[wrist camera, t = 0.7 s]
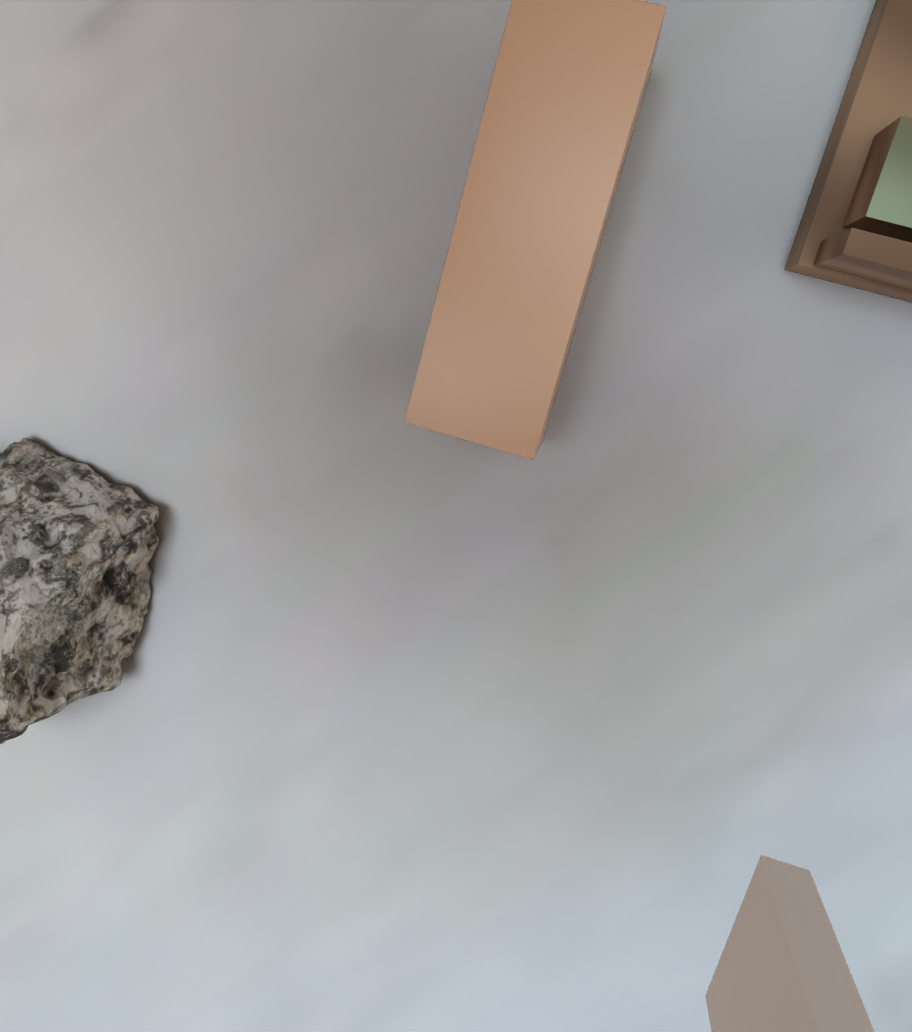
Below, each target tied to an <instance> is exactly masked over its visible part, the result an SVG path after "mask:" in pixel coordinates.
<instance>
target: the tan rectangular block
mask: <svg viewBox="0 0 912 1032" xmlns="http://www.w3.org/2000/svg"><path fill="white" fill-rule="evenodd" d="M665 9H666V7H665V6H661V5H657V4H653V3H649V2H644V1H640V0H512V3H511V7H510V11H509V15H508V19H507V23H506V27H505V31H504V35H503V38H502V42H501V46H500V50H499V54H498V58H497V62H496V66H495V70H494V74H493V77H492V81H491V85H490V89H489V93H488V97H487V101H486V105H485V109H484V113H483V117H482V120H481V124H480V128H479V132H478V136H477V140H476V144H475V148H474V152H473V156H472V159H471V163H470V167H469V171H468V175H467V179H466V183H465V187H464V191H463V195H462V199H461V202H460V206H459V210H458V214H457V218H456V222H455V226H454V230H453V234H452V238H451V242H450V245H449V249H448V253H447V257H446V261H445V265H444V269H443V273H442V277H441V281H440V284H439V288H438V292H437V296H436V300H435V304H434V308H433V312H432V316H431V320H430V324H429V327H428V331H427V335H426V339H425V343H424V347H423V351H422V355H421V359H420V363H419V366H418V370H417V374H416V378H415V382H414V386H413V390H412V394H411V398H410V402H409V406H408V409H407V413H406V417H405V421H404V422H405V423H409V424H412V425H416V426H419V427H423V428H426V429H430V430H433V431H436V432H440V433H443V434H447V435H450V436H454V437H457V438H461V439H464V440H467V441H471V442H474V443H478V444H481V445H485V446H488V447H492V448H495V449H498V450H502V451H505V452H509V453H512V454H516V455H519V456H523V457H526V458H529V459H534V457H535V455H536V453H537V451H538V449H539V447H540V445H541V443H542V440H543V437H544V433H545V430H546V427H547V423H548V420H549V416H550V413H551V410H552V406H553V403H554V399H555V396H556V393H557V389H558V386H559V382H560V379H561V376H562V372H563V369H564V365H565V362H566V359H567V355H568V352H569V348H570V345H571V342H572V338H573V335H574V331H575V328H576V325H577V321H578V318H579V314H580V311H581V308H582V304H583V301H584V298H585V294H586V291H587V287H588V284H589V281H590V277H591V274H592V270H593V267H594V264H595V260H596V257H597V253H598V250H599V247H600V243H601V240H602V236H603V233H604V230H605V226H606V223H607V219H608V216H609V213H610V209H611V206H612V202H613V199H614V196H615V192H616V189H617V185H618V182H619V179H620V175H621V172H622V168H623V165H624V162H625V158H626V155H627V151H628V148H629V145H630V141H631V138H632V134H633V131H634V128H635V124H636V121H637V117H638V114H639V111H640V107H641V104H642V101H643V97H644V94H645V90H646V87H647V84H648V80H649V77H650V73H651V70H652V66H653V62H654V57H655V53H656V49H657V44H658V40H659V35H660V31H661V27H662V22H663V18H664V14H665Z"/></svg>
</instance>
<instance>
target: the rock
mask: <svg viewBox="0 0 912 1032" xmlns="http://www.w3.org/2000/svg"><path fill="white" fill-rule="evenodd" d="M158 517H159V510H158V506H155V505H153V504H151V503H149V502H146V501H144V500H142V499H141V498H140V497H139V496H138V495H137V494H136V493H135V492H134V490H133V489H132V488H131V487H127V486H123V485H119V484H113V483H108V482H107V481H106V480H105V479H104V478H103V477H102V476H100V475H98V474H97V473H95V472H94V471H93V469H92V468H90V467H89V466H88V465H87V464H84V463H79V462H73V461H71V460H69V459H67V458H65V457H61V456H57V455H55V453H54V452H52V451H50V450H48V449H46V448H45V447H44V446H43V445H41V444H40V443H39V442H37V441H34V440H32V439H29V438H23V439H22V440H21V441H20V442H14V443H12V444H10V445H9V446H8V447H7V448H6V449H5V450H4V451H3V452H2V453H0V614H3V615H6V623H5V631H4V638H3V645H2V653H1V660H0V744H2V743H4V742H5V741H6V740H9V739H12V738H15V737H17V736H19V735H22V734H23V733H24V732H25V731H26V729H27V727H28V725H30V724H33V723H35V722H38V721H40V720H43V719H46V718H48V717H50V716H52V715H54V714H56V713H58V712H60V711H61V710H62V709H64V708H65V707H66V706H67V705H68V704H69V703H71V702H73V701H75V700H77V699H80V698H83V697H87V696H90V695H94V694H97V693H100V692H103V691H110V690H113V689H114V688H116V687H117V686H119V685H120V682H121V679H122V675H123V670H122V667H121V661H122V659H124V658H128V657H129V656H130V655H131V654H132V653H133V649H134V644H135V642H136V641H137V640H138V638H139V636H140V633H141V629H142V626H143V623H144V622H143V617H144V615H145V614H146V613H147V612H148V609H147V604H148V602H149V599H150V595H151V589H150V583H149V579H150V576H151V573H152V570H151V569H150V567H149V566H148V562H149V561H150V559H151V558H152V556H153V553H154V551H155V549H156V548H157V546H158V545H159V538H158V537H157V536H156V532H155V528H154V526H153V524H154V523H155V522H156V521H157V519H158Z"/></svg>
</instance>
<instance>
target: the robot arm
mask: <svg viewBox="0 0 912 1032" xmlns="http://www.w3.org/2000/svg"><path fill="white" fill-rule="evenodd" d="M5 623H6V615H3V614H0V660H1V653H2V645H3V638H4V631H5ZM705 996H706V1001H707V1007H708V1013H709V1019H710V1025H711V1031H712V1032H874V1030H873V1027H872V1025H871V1022H870V1020H869V1017H868V1015H867V1012H866V1010H865V1007H864V1005H863V1002H862V1000H861V998H860V995H859V993H858V990H857V988H856V985H855V983H854V980H853V978H852V975H851V973H850V970H849V968H848V965H847V963H846V960H845V958H844V955H843V953H842V950H841V948H840V945H839V943H838V940H837V938H836V935H835V933H834V930H833V928H832V926H831V923H830V921H829V918H828V916H827V913H826V911H825V908H824V906H823V903H822V901H821V898H820V896H819V893H818V891H817V888H816V886H815V883H814V881H813V878H812V876H811V873H810V871H809V870H807V869H803V868H800V867H797V866H794V865H791V864H788V863H785V862H781V861H778V860H775V859H772V858H769V857H766V856H763V855H761V857H760V859H759V862H758V864H757V867H756V869H755V872H754V874H753V877H752V879H751V882H750V884H749V887H748V889H747V892H746V894H745V897H744V899H743V902H742V905H741V907H740V910H739V912H738V915H737V917H736V920H735V922H734V925H733V927H732V930H731V932H730V935H729V937H728V940H727V942H726V945H725V947H724V950H723V952H722V955H721V957H720V960H719V963H718V965H717V968H716V970H715V973H714V975H713V978H712V980H711V983H710V985H709V988H708V990H707V993H706V995H705Z"/></svg>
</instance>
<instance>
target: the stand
mask: <svg viewBox="0 0 912 1032" xmlns="http://www.w3.org/2000/svg"><path fill="white" fill-rule="evenodd" d="M785 270H789V271H793V272H796V273H800V274H804V275H808V276H812V277H816V278H820V279H823V280H827V281H831V282H835V283H839V284H843V285H846V286H850V287H854V288H858V289H862V290H866V291H870V292H873V293H877V294H881V295H885V296H889V297H893V298H897V299H900V300H904V301H908V302H912V0H876V3H875V6H874V9H873V12H872V15H871V18H870V21H869V24H868V27H867V29H866V32H865V35H864V38H863V41H862V44H861V47H860V50H859V53H858V56H857V59H856V62H855V65H854V68H853V71H852V73H851V76H850V79H849V82H848V85H847V88H846V91H845V94H844V97H843V100H842V103H841V106H840V109H839V112H838V115H837V117H836V120H835V123H834V126H833V129H832V132H831V135H830V138H829V141H828V144H827V147H826V150H825V153H824V156H823V159H822V161H821V164H820V167H819V170H818V173H817V176H816V179H815V182H814V185H813V188H812V191H811V194H810V197H809V200H808V203H807V205H806V208H805V211H804V214H803V217H802V220H801V223H800V226H799V229H798V232H797V235H796V238H795V241H794V244H793V247H792V250H791V252H790V255H789V258H788V261H787V264H786V267H785Z"/></svg>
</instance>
